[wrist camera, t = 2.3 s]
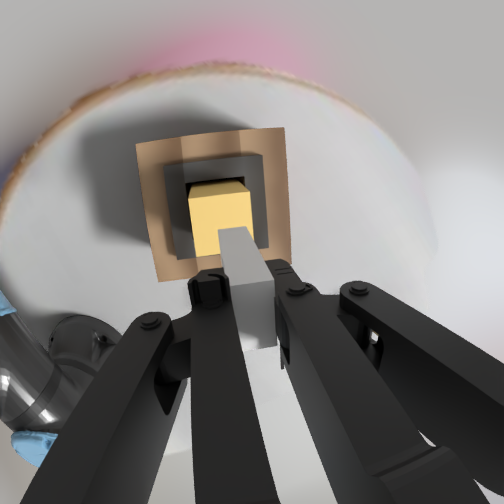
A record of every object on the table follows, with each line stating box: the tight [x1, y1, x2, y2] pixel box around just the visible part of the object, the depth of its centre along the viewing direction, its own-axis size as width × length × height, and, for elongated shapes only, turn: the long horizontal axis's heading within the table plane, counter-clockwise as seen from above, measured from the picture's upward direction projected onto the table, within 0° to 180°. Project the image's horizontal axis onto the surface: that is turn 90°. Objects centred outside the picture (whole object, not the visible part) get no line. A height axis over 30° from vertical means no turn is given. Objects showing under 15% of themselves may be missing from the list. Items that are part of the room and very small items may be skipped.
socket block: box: [136, 127, 292, 282], centre depth 32 cm, size 14×14×11 cm
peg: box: [188, 179, 254, 257], centre depth 26 cm, size 4×4×9 cm
